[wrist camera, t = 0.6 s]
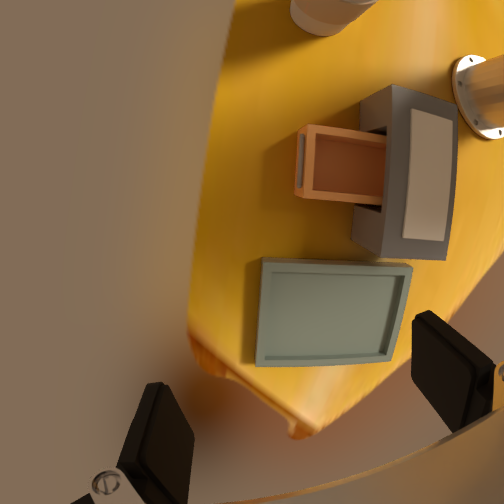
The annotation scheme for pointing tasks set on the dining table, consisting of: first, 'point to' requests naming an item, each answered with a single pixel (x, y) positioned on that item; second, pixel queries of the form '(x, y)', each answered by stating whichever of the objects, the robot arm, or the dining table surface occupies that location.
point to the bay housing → (410, 175)
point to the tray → (329, 311)
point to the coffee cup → (327, 14)
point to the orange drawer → (340, 165)
